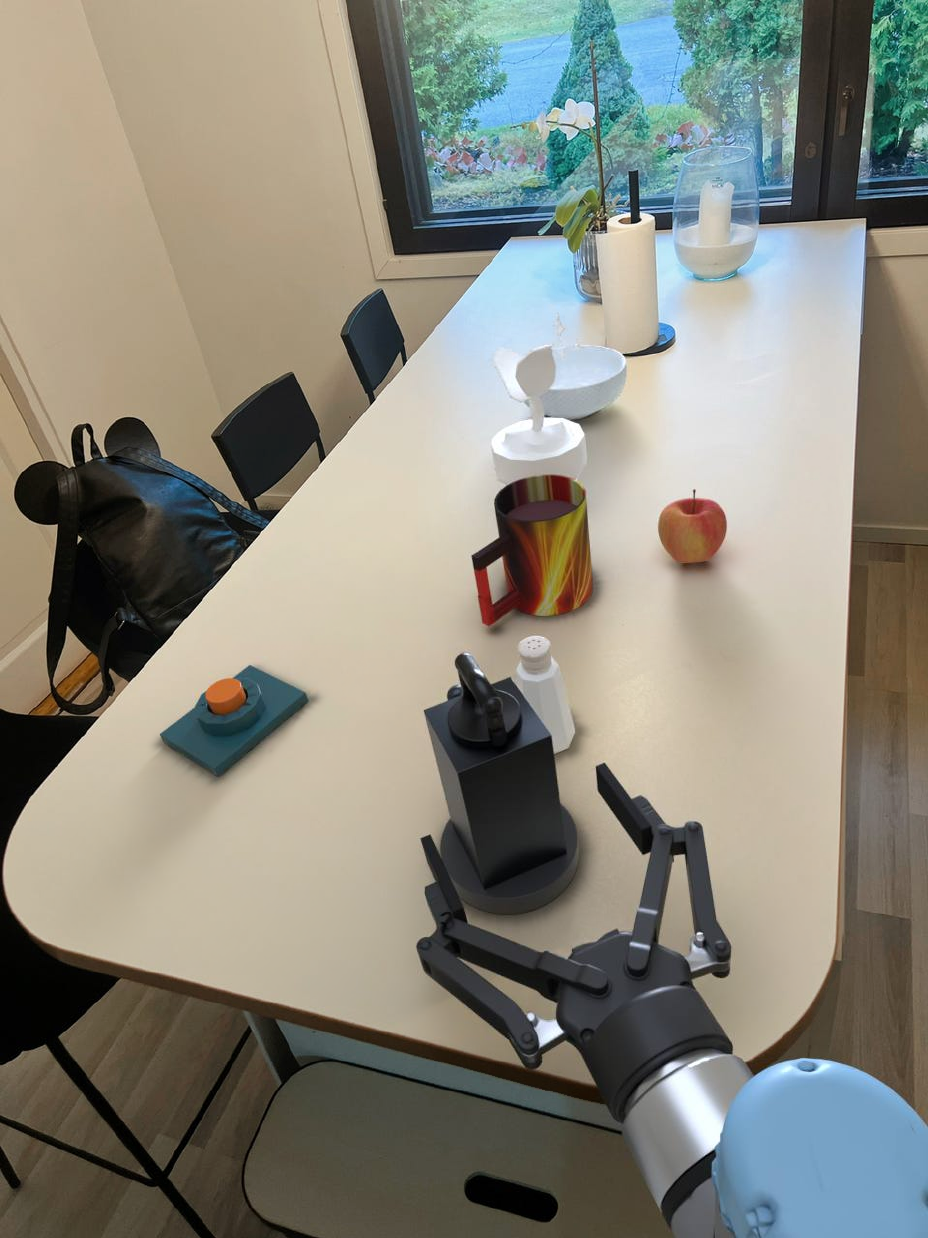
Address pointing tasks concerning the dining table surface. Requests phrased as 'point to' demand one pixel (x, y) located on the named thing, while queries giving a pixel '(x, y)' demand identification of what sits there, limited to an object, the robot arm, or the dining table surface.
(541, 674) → the salt shaker
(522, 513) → the mug
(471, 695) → the kettle
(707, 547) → the apple
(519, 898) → the kettle base
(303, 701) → the switch block
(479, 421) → the dining table surface
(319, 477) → the dining table surface
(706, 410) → the dining table surface
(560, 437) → the potted plant
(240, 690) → the power button
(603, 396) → the cereal bowl
